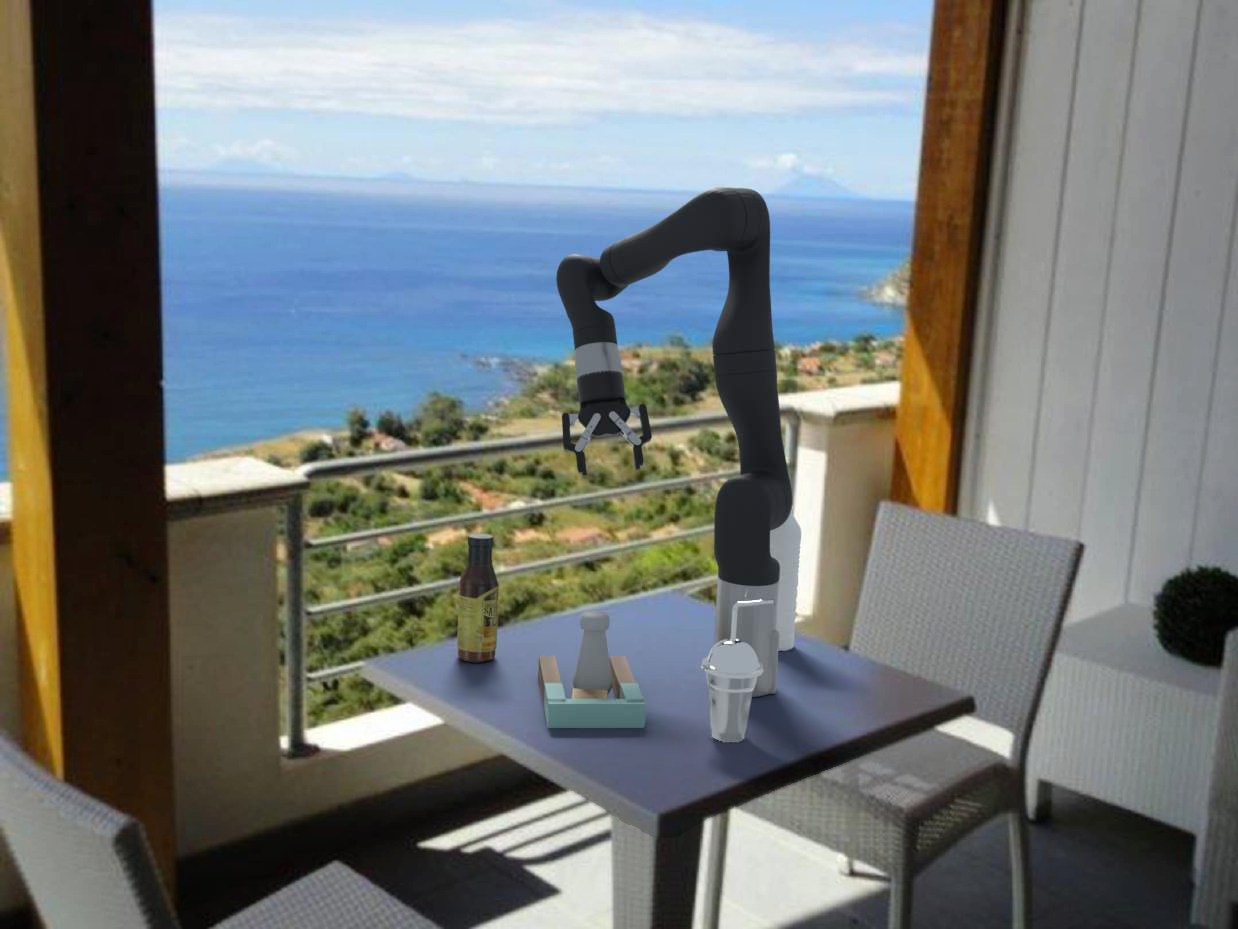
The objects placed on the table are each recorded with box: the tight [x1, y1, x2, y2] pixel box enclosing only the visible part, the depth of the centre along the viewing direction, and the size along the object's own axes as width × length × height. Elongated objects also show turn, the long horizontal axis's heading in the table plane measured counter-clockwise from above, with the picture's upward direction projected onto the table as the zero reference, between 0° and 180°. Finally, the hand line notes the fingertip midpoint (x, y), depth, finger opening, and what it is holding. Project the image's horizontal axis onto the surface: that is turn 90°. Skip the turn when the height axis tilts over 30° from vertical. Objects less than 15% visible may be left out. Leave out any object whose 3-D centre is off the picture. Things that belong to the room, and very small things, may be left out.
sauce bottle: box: [456, 533, 500, 664], centre depth 206 cm, size 7×6×20 cm
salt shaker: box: [572, 610, 613, 697], centre depth 191 cm, size 6×6×13 cm
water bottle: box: [770, 505, 802, 652], centre depth 218 cm, size 9×6×25 cm
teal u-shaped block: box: [543, 682, 646, 729], centre depth 184 cm, size 13×8×4 cm, turn 97°
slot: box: [537, 655, 637, 705], centre depth 195 cm, size 13×14×3 cm
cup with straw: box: [700, 599, 775, 744], centre depth 177 cm, size 8×9×20 cm
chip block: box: [571, 687, 608, 699], centre depth 185 cm, size 5×5×3 cm
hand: (611, 473), depth 209 cm, fingers open, 8 cm apart
